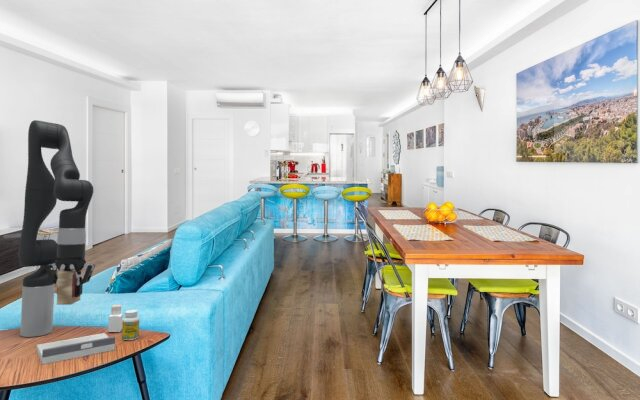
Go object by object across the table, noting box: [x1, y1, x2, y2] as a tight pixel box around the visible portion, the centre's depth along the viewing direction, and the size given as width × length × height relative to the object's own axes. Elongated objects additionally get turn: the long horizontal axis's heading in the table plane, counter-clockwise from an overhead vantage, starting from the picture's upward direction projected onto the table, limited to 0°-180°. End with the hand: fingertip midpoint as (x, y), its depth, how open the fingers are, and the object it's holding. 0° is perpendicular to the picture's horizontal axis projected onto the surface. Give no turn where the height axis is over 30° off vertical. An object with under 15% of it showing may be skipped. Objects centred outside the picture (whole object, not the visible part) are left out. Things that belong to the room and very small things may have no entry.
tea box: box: [56, 269, 83, 306], centre depth 120 cm, size 4×6×10 cm
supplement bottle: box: [121, 309, 140, 341], centre depth 134 cm, size 5×5×10 cm
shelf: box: [36, 332, 116, 365], centre depth 121 cm, size 13×19×4 cm
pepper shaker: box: [107, 304, 124, 333], centre depth 140 cm, size 4×4×10 cm
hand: (69, 296), depth 120 cm, fingers closed on tea box, 4 cm apart
